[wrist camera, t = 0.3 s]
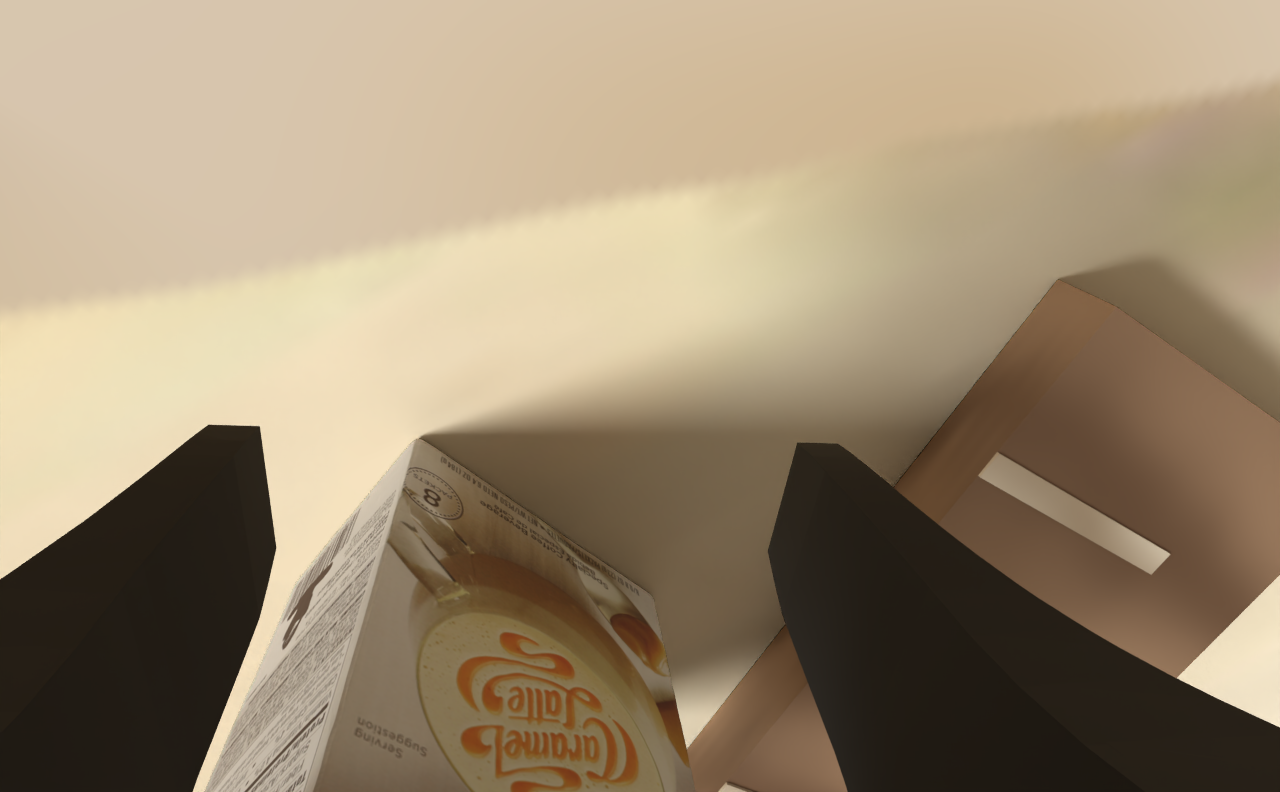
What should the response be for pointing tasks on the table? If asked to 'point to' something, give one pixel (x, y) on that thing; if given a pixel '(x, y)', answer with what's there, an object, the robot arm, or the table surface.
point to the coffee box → (457, 658)
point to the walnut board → (1061, 516)
